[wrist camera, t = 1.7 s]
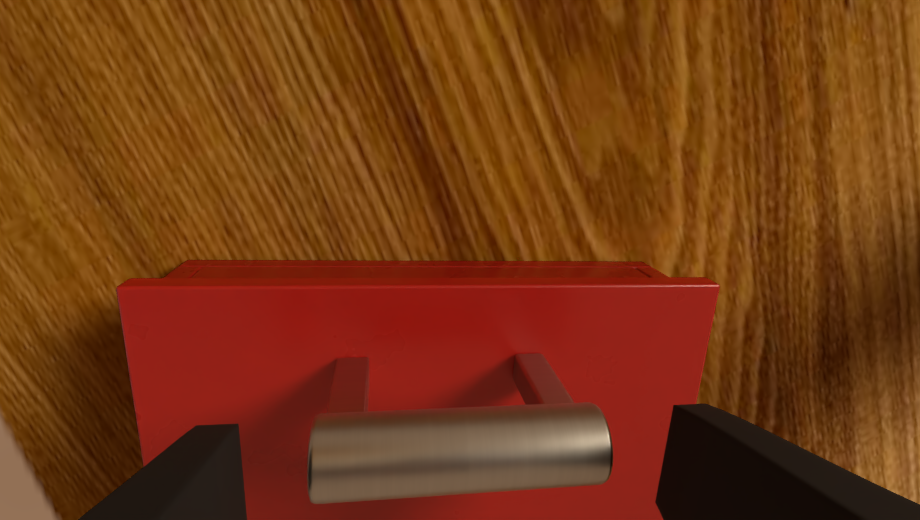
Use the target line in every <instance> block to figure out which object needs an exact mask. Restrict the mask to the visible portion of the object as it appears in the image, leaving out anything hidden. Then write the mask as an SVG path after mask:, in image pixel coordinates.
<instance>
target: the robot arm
mask: <svg viewBox="0 0 920 520" xmlns="http://www.w3.org/2000/svg"><path fill="white" fill-rule="evenodd" d="M655 503H656V505H657V507H658V509H659V511H660V513H661V515H662V518H663V520H920V505H919V504H917V503H915V502H913V501H911V500H908V499H906V498H904V497H902V496H900V495H897V494H895V493H893V492H891V491H889V490H887V489H885V488H883V487H881V486H879V485H876V484H874V483H872V482H870V481H868V480H866V479H864V478H862V477H860V476H858V475H856V474H854V473H851V472H849V471H847V470H845V469H843V468H841V467H839V466H837V465H835V464H833V463H831V462H829V461H827V460H825V459H823V458H821V457H819V456H817V455H815V454H813V453H811V452H809V451H807V450H805V449H803V448H801V447H799V446H797V445H795V444H793V443H791V442H789V441H787V440H785V439H783V438H781V437H779V436H776V435H774V434H772V433H770V432H768V431H766V430H764V429H762V428H760V427H758V426H756V425H754V424H752V423H750V422H748V421H745V420H743V419H741V418H739V417H737V416H735V415H732V414H730V413H728V412H726V411H723V410H721V409H718V408H716V407H713V406H711V405H708V404H685V405H673V410H672V416H671V421H670V426H669V432H668V437H667V442H666V447H665V453H664V458H663V463H662V469H661V474H660V479H659V485H658V490H657V495H656V500H655ZM78 520H247V513H246V502H245V490H244V479H243V468H242V457H241V445H240V434H239V424H215V425H196V426H195V427H193V428H192V429H191V430H189V431H188V432H187V433H185V434H184V435H183V436H181V437H180V438H179V439H178V440H176V441H175V442H174V443H173V444H171V445H170V446H169V447H168V448H166V449H165V450H164V451H163V452H161V453H160V454H159V455H158V456H157V457H155V458H154V459H153V460H152V461H150V462H149V463H148V464H147V465H146V466H144V467H143V468H142V469H141V470H139V471H138V472H137V473H136V474H134V475H133V476H132V477H131V478H130V479H128V480H127V481H126V482H125V483H123V484H122V485H121V486H120V487H118V488H117V489H116V490H114V491H113V492H112V493H111V494H109V495H108V496H107V497H106V498H104V499H103V500H102V501H101V502H99V503H98V504H97V505H96V506H94V507H93V508H92V509H91V510H89V511H88V512H87V513H86V514H84V515H83V516H82V517H80V518H79V519H78Z"/></svg>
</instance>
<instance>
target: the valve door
mask: <svg viewBox="0 0 920 520" xmlns="http://www.w3.org/2000/svg"><path fill="white" fill-rule="evenodd" d="M719 288H720V286H719V284H717V283H715V282H713V281H711V280H710V279H708V278H706V277H660V278H131V279H128V280H127V281H125V282H124V283H122V284H121V285H119V286H117V289H116V291H117V298H118V304H119V311H120V317H121V324H122V330H123V337H124V343H125V350H126V356H127V363H128V369H129V376H130V382H131V389H132V395H133V402H134V408H135V415H136V421H137V428H138V434H139V441H140V447H141V454H142V460H143V467H144V466H146V465H147V464H148V463H149V462H150V461H152V460H153V459H154V458H155V457H157V456H158V455H159V454H160V453H161V452H163V451H164V450H165V449H166V448H168V447H169V446H170V445H171V444H173V443H174V442H175V441H176V440H178V439H179V438H180V437H181V436H183V435H184V434H185V433H187V432H188V431H189V430H191V429H192V428H193V427H195V426H196V425H215V424H239V434H240V445H241V457H242V468H243V479H244V490H245V502H246V513H247V520H663V518H662V515H661V513H660V511H659V509H658V507H657V505H656V503H655V500H656V495H657V490H658V485H659V479H660V474H661V469H662V463H663V458H664V453H665V447H666V442H667V437H668V432H669V426H670V421H671V416H672V410H673V405H685V404H696V402H697V397H698V392H699V387H700V382H701V377H702V372H703V367H704V362H705V357H706V352H707V347H708V342H709V338H710V333H711V328H712V323H713V318H714V313H715V308H716V303H717V298H718V293H719Z"/></svg>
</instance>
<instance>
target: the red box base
mask: <svg viewBox="0 0 920 520" xmlns="http://www.w3.org/2000/svg"><path fill="white" fill-rule="evenodd" d="M660 277H668V276H666V275H664V274H663V273H661V272H659V271H657V270H656V269H654V268H652V267H651V266H649V265H647V264H645V263H644V262H607V261H325V260H187V261H185V262H184V263H182V264H181V265H180V266H179V267H177V268H176V269H174V270H173V271H172V272H170V273H169V274H168V275H166V276H165V277H164V278H660Z"/></svg>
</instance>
